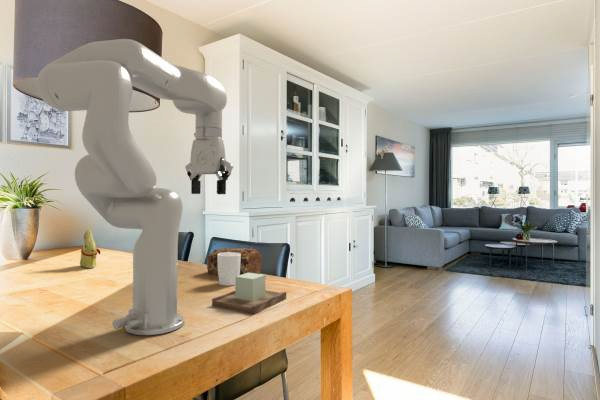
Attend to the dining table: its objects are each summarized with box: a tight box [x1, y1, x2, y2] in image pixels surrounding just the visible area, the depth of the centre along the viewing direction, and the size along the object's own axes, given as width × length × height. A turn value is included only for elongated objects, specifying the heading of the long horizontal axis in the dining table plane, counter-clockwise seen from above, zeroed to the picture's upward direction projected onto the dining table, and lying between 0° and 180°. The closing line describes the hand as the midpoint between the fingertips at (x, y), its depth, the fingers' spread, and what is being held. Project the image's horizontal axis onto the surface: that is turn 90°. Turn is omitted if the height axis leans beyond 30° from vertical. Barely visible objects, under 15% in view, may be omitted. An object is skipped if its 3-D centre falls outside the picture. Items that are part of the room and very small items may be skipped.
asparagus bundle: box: [79, 229, 101, 270], centre depth 150 cm, size 7×11×15 cm, turn 45°
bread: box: [206, 247, 263, 276], centre depth 140 cm, size 19×11×10 cm, turn 63°
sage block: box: [234, 273, 267, 301], centre depth 104 cm, size 6×6×6 cm
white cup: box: [217, 252, 241, 287], centre depth 126 cm, size 8×8×10 cm
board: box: [211, 289, 287, 315], centre depth 104 cm, size 16×14×2 cm
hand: (208, 194), depth 109 cm, fingers open, 9 cm apart
